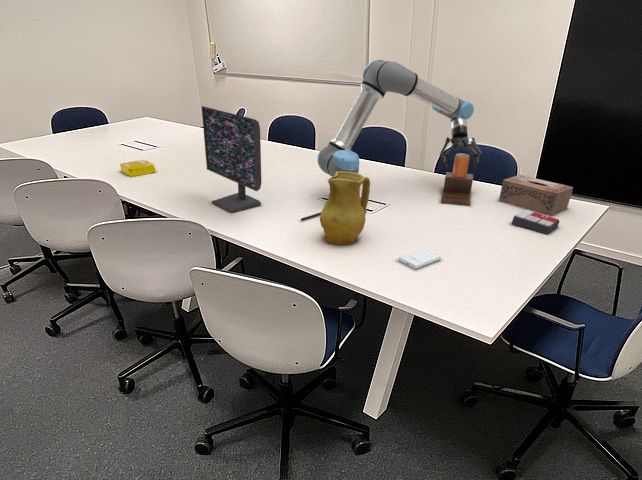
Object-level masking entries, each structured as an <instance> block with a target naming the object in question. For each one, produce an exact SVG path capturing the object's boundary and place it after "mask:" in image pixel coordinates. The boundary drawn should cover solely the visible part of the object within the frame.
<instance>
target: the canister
mask: <svg viewBox="0 0 642 480" xmlns="http://www.w3.org/2000/svg"><path fill="white" fill-rule="evenodd" d="M470 158H471V156H470V154H467V153H456V154H455V155H454V161H453V167H452V172H453V173H452V175H453V176H455V177H466V176H467V174H468V169H469V164H470Z"/></svg>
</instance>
